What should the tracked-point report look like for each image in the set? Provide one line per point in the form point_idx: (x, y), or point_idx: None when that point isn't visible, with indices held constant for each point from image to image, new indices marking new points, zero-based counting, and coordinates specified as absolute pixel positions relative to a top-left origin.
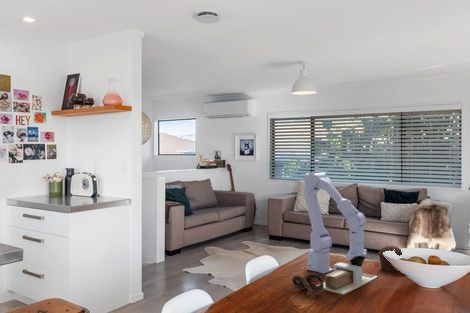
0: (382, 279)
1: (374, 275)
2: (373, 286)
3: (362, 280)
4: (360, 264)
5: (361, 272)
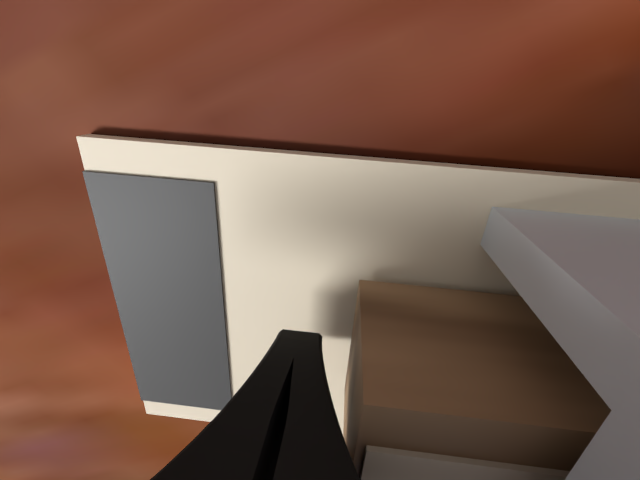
0: (104, 39)
1: (91, 185)
2: (538, 5)
3: (400, 232)
4: (281, 461)
5: (616, 293)
